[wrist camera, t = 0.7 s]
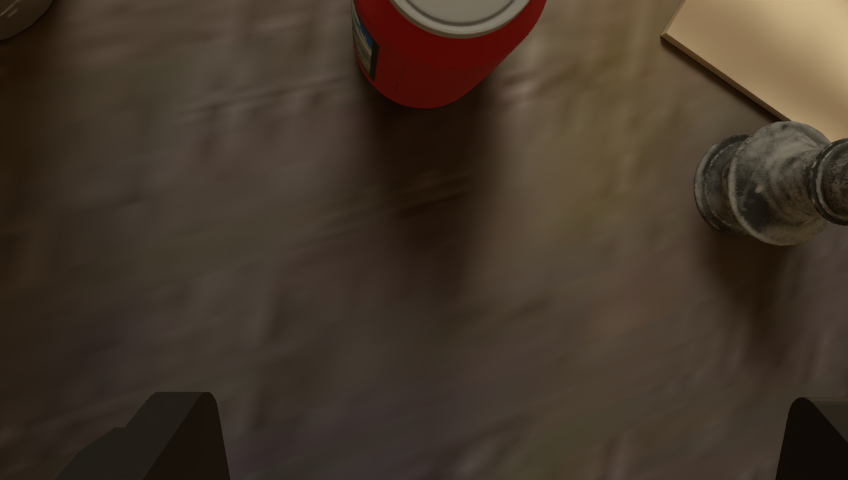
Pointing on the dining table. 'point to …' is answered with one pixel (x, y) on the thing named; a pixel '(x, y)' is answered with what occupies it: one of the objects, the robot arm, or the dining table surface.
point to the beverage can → (436, 44)
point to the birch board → (774, 54)
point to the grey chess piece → (774, 183)
